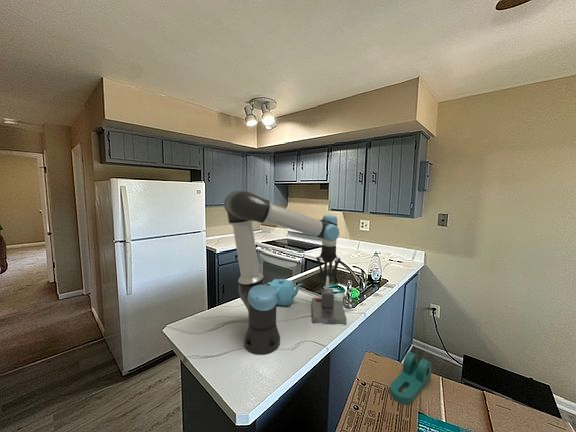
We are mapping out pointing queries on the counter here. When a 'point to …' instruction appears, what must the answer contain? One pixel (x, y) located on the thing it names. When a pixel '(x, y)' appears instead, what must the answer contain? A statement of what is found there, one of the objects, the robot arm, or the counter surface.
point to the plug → (327, 298)
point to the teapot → (284, 291)
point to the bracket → (411, 379)
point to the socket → (328, 313)
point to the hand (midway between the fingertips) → (327, 288)
